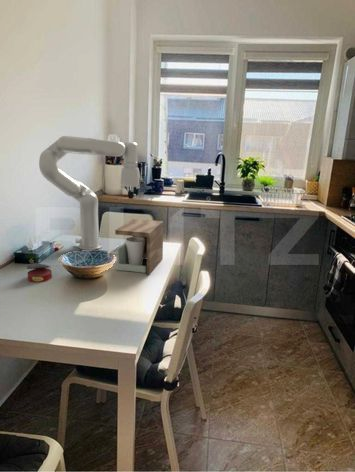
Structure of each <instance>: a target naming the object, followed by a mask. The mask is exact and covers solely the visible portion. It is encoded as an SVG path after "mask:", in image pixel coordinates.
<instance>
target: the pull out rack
mask: <svg viewBox="0 0 355 472" xmlns="http://www.w3.org/2000/svg"><path fill="white" fill-rule="evenodd" d="M111 255H115V256H114V257H116V271H126V272H134V273H142V274H143V273H146V274H147V265H131V264H129V260H128V253H127V246H126V241H125V242H124V243H123V244H116V245H115V246H114V247H112V248H111V249H110V250H109V251H108V252H106V258H108V259H110V258H111V257H110V256H111ZM109 257H110V258H109ZM143 259H145V260H147V253H145V252H144V255H143Z"/></svg>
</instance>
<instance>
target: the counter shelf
mask: <svg viewBox="0 0 355 472" xmlns="http://www.w3.org/2000/svg"><path fill="white" fill-rule="evenodd" d="M114 232H115V235H117V236H130V237H143V238H145V247H144V252H145V253H147V259H146V275H147V276H150V275H151V274H152V273H153V271H155V269H156V268H157V267H158V265H159V264H160V263H161V262H162V260H163V259H164V258H163V255H164V254H163V253H164V252H163V251H164V250H163V249H164V248H163V247H164V221H163V220H149V219H138V218H137V219H136V218H132V219H130V221H127V222H126V223H124V224H123V225H121V226H120V227H118V228H116V229H115V231H114Z"/></svg>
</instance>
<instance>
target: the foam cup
mask: <svg viewBox="0 0 355 472" xmlns="http://www.w3.org/2000/svg"><path fill="white" fill-rule="evenodd" d="M125 242H126V246H127V253H128V260H129V261H128V264H131V265H141V266H143V261H144V258H143V255H144V247H145V238H143V237H132V236H130V237H127V238H125Z"/></svg>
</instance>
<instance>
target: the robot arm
mask: <svg viewBox="0 0 355 472" xmlns="http://www.w3.org/2000/svg"><path fill="white" fill-rule="evenodd" d="M67 154H74V155H75V154H77V155H88V156H105V157H117V158H118V157H122V156H123V162H121V166H122V168H121V174H120V184H121V189H125V190H126V191H127V197H128V200H130V199H134V197H135V194H134V193H135V191H136V190H138V189H141V174H140V169H139V167H138V165H139V163H138V159H139V158H138V157H139V156H138V142H135V141H134V142H132V141H128V142H121V141H111V140H102V139H98V138H97V139H96V138H91V137H83V136H72V135H62V136H60V137H59V138H57V140H55V141H54V142H53V143H52V144H51V145H49V146H48V147H47V148H46V149H44V150H43V151H42V152H41V153H40V155H39V160H38V165H39V170H40V174H41V175H42V176H43V177H44V178H45V179H46V181H48V182H50V184H51V185H53V186H55V187H56V188H57V189H59V190H60V191H62V192H63V194H65V195H66V196H68V197H71V198H73V199H74V200H76V201H77V202H79V213H80V214H79V217H80V218H79V219H80V235H81V236H80V238H75V240H74V242H75V244H79V245H78V248H79V250H83V251H96V250H99V249H101V248H103V245H102V243H100V233H99V199H98V198H99V197H98V196H97V194H96V193H95V192H94V191H93V190H92V189H91V188H89V187H88V186H86V185H85V184H84V183H83V182H81V181H80V180H78V179H77V178H75V177H72V176H70V175H68V174H67V173H65V171H63V170H61V169H60V168H59V167H58V164H57V163H58V162H59V161H60V160H61V159H63V158H64V157H65V156H66V155H67Z"/></svg>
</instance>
